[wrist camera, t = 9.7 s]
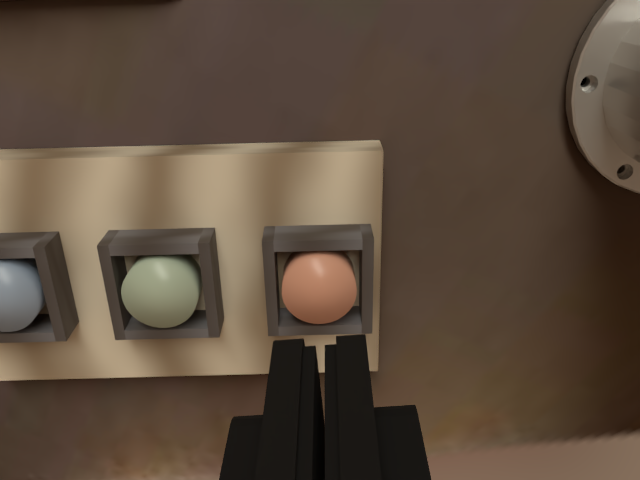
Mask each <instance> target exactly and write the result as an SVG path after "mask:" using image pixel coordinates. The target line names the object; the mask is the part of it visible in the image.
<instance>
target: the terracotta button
mask: <svg viewBox="0 0 640 480" xmlns="http://www.w3.org/2000/svg"><path fill="white" fill-rule="evenodd" d="M356 295H357V287H356V280H355V273H354V267H353V264H352V261H351V259H350V258H349V256H348V255H347V254H346V253H345V252H344V251H343V250H336V251H296V252H292V254H291V255H290V256H289V257H288V259H287V261H286V263H285V265H284V270H283V280H282V298H283V302H284V304H285V306H286V307H287V309H288V310H289V311H290V313H292V314H293V315H294V316H295V317H297V318H298V319H300V320H302V321H305V322H308V323H313V324H325V323H330V322H333V321H336V320H338V319H340V318H341V317H343V316H344V315H345V314H346V313H347V312H348V311H349V310H350V309H351V308H352V306H353V304H354V302H355V300H356Z"/></svg>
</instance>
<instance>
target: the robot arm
mask: <svg viewBox="0 0 640 480" xmlns="http://www.w3.org/2000/svg"><path fill="white" fill-rule="evenodd" d="M585 77H586V83H585V84H584V85H580V84H581V82H582V80H583V79H584V78H585ZM566 113H567V118H568V123H569V129H570V132H571V134H572V136H573V139H574V141H575V143H576V146H577V148H578V150H579V151H580V152H581V154H582V155H583V156H584V158H585V159H586V160H587V162H588V163H589V164H590V165H591V166H592V167H593V168H595V169H596V170H597V171H598V172H599V173H600V174H602V175H603V176H604V177H606V178H607V179H608V180H610V181H611V182H613V183H614V184H616V185H618V186H620V187H623V188H625V189H628V190H630V191H633V192H636V193H640V0H606V2H605V3H604V4H603V5H602V6H601V8H600V9H599V10H598V11H597V13H596V14H595V15H594V16H593V18H592V20H591V21H590V23H589V25H588V26H587V28H586V30H585V32H584V33H583V35H582V37H581V38H580V40H579V43H578V46H577V48H576V51H575V53H574V56H573V59H572V61H571V64H570V69H569V74H568V79H567V84H566ZM620 167H621V168H620ZM619 168H620V169H619ZM618 169H619V170H618ZM219 480H431V476H430V471H429V466H428V462H427V457H426V452H425V447H424V442H423V437H422V433H421V428H420V423H419V418H418V413H417V409H416V406H415V405H405V406H390V407H375V408H374V406H373V397H372V388H371V379H370V370H369V361H368V352H367V343H366V335H365V334H358V335H344V336H336V344H330V345H325V424H324V415H323V406H322V397H321V388H320V379H319V369H318V360H317V351H316V346H305V343H304V339H303V338H302V339H287V340H274V341H273V345H272V353H271V360H270V367H269V375H268V382H267V390H266V397H265V405H264V412H263V415H253V416H238V417H233V419H232V421H231V424H230V428H229V433H228V438H227V443H226V448H225V453H224V458H223V463H222V468H221V473H220V478H219Z"/></svg>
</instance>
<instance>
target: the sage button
mask: <svg viewBox="0 0 640 480" xmlns="http://www.w3.org/2000/svg"><path fill="white" fill-rule="evenodd" d="M202 287H203V284H202V276H201V268H200V266H199V264H198V263H197V262H196V260H195V259H194V258H193V257H192V256H191V255H189V254H175V255H139V256H138V257H137V259H136V260H135V262H134V264H133V265H132V267H131V269H130V270H129V272H128V274H127V275H126V277H125V279H124V281H123V284H122V288H121V296H122V300H123V303H124V305H125V307H126V309H127V310H128V312H129V313H130V314H131V315H132V316H133V317H134V318H136V319H137V320H138V321H140V322H142V323H144V324H146V325H149V326H152V327H158V328H169V327H174V326H177V325H179V324H182V323H183V322H185V321H186V320H187V319H188V318H189V317H190V316H191V315H192V314H193V312H194V310H195V308H196V305H197V302H198V299H199V296H200V293H201V290H202Z"/></svg>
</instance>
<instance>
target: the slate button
mask: <svg viewBox="0 0 640 480" xmlns="http://www.w3.org/2000/svg"><path fill="white" fill-rule="evenodd" d="M45 304H46V300H45V296H44V292H43V288H42V284H41V280H40V276H39V272H38V268H37V264H36V260H35V258H15V259H0V331H1V332H13V331H18V330H21V329H23V328H25V327H27V326H28V325H29V324H30V323H31V322H32V321H33V320H34V319H35V317H36V316H37V315H38V313H39V312H40V311H41V310H42V308H43V307H44V306H45Z"/></svg>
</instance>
